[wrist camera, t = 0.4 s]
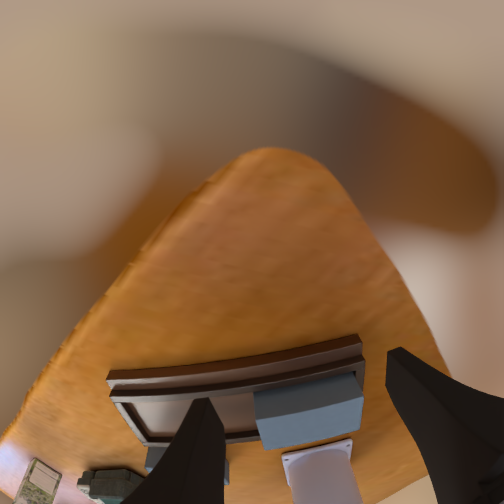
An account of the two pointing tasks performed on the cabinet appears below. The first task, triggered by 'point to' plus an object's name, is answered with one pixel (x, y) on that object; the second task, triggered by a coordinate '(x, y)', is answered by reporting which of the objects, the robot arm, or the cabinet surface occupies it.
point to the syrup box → (38, 484)
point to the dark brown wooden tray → (224, 388)
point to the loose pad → (156, 454)
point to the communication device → (108, 485)
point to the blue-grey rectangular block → (308, 411)
